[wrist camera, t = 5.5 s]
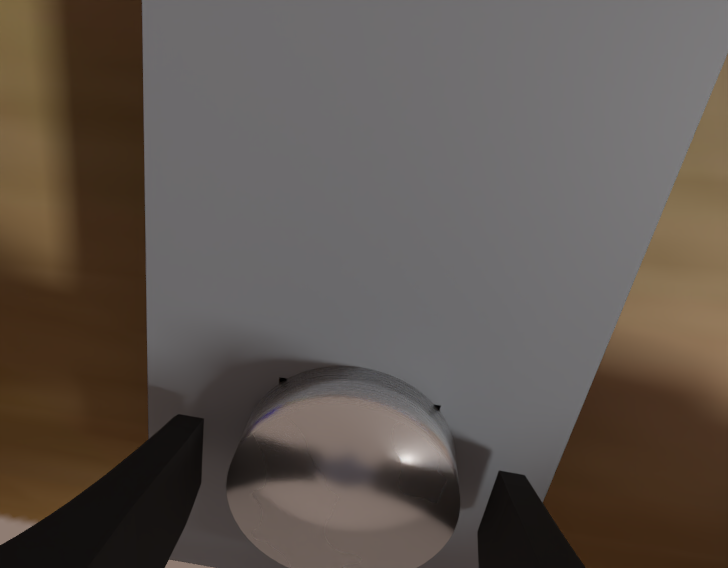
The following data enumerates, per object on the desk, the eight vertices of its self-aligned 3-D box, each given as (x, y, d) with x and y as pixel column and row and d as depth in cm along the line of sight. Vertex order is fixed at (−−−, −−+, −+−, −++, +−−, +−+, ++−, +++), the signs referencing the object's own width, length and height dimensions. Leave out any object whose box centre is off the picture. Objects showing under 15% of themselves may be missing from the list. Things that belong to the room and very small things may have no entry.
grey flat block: (479, 506, 19) (495, 617, 16) (198, 456, 19) (150, 555, 16) (690, -106, 12) (818, -167, 8) (222, -189, 12) (137, -288, 8)
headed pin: (470, 414, 17) (492, 554, 12) (320, 458, 18) (291, 600, 14) (407, 272, 15) (407, 375, 11) (245, 331, 16) (183, 447, 12)
